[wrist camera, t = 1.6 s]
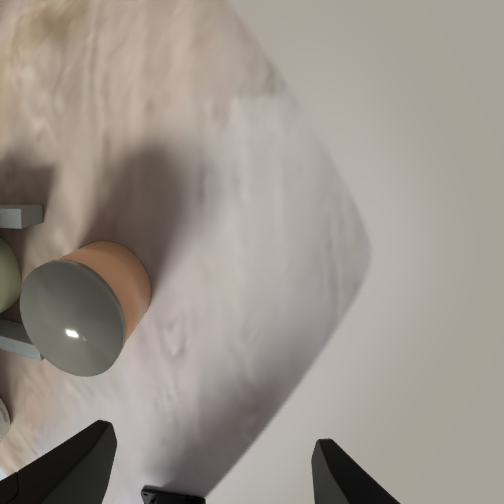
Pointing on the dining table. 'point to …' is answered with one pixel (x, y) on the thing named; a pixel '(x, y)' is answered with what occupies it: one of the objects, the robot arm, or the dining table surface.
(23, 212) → the lane
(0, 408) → the supplement can
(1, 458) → the dining table surface
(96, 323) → the jar terracotta
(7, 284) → the jar sage
